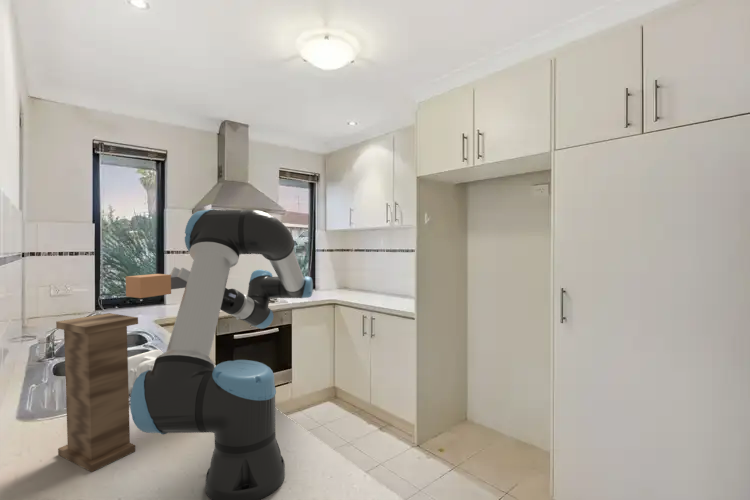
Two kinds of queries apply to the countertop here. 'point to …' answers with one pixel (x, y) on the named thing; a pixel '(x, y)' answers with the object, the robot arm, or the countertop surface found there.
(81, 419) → the wooden pedestal
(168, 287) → the plug
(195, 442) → the countertop surface
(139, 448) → the countertop surface
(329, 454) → the countertop surface
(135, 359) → the cable organizer
